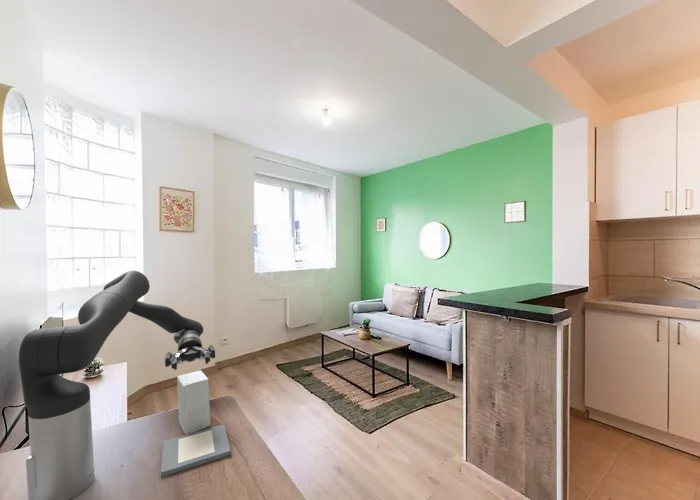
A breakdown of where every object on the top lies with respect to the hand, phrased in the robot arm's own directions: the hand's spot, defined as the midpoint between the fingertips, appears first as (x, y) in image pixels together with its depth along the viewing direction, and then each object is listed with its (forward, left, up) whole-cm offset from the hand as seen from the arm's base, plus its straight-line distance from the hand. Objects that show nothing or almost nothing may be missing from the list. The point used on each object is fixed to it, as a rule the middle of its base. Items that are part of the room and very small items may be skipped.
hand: (191, 363), depth 96 cm
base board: (0, -23, -13) cm, 27 cm away
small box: (0, -11, -13) cm, 17 cm away
